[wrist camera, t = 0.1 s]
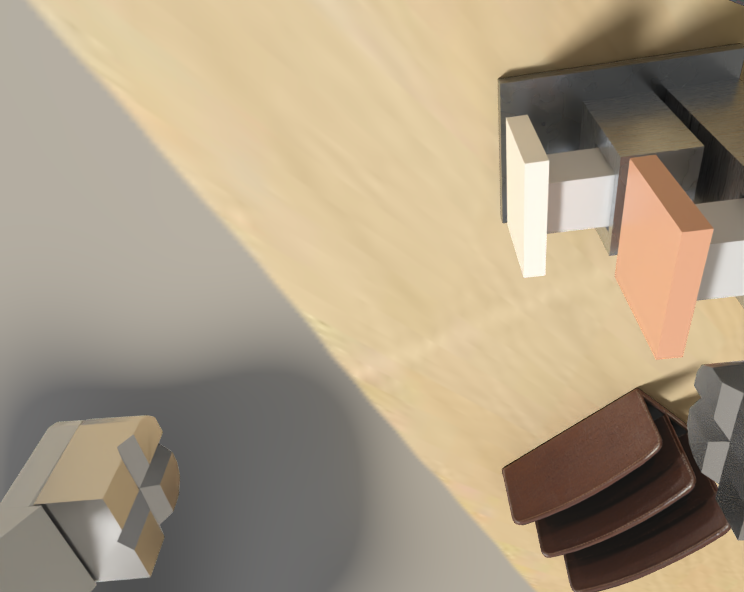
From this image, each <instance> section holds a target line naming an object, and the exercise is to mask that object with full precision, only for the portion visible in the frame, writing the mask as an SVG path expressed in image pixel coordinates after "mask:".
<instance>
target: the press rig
mask: <svg viewBox="0 0 744 592" xmlns="http://www.w3.org/2000/svg"><path fill="white" fill-rule="evenodd" d="M743 61H744V46H743V45H742V44H740V43H739V44H732V45H725V46H719V47H712V48H705V49H698V50H691V51H685V52H678V53H671V54H664V55H657V56H651V57H644V58H637V59H630V60H624V61H617V62H610V63H603V64H596V65H590V66H583V67H576V68H569V69H562V70H556V71H549V72H542V73H535V74H528V75H522V76H515V77H508V78H501V79H498V110H499V158H500V206H501V219H502V223H507V159H506V118H507V117H514V116H521V115H528V117H529V119H530V121H531V123H532V125H533V127H534V129H535V132H536V134H537V136H538V138H539V140H540V142H541V144H542V146H543V148H544V150H545V152H546V155H547V154H554V153H562V152H569V151H577V150H584V149H592V148H599V149H600V151H601V152H602V154H603V155H604V157H605V158H606V160H607V162H608V163H609V165H610V166H611V168H612V169H613V171H614V173H615V177H614V186H613V195H612V204H611V213H610V222H609V226H607V227H598V228H595V229H596V231H597V233H598V234H599V236H600V238H601V240H602V242H603V244H604V246H605V248H606V250H607V252H608V254H609V256H611V255H618V247H619V240H620V232H621V224H622V216H623V208H624V200H625V192H626V185H627V177H628V169H629V161H630V158H634V157H642V156H649V155H657V157H658V158H659V159H660V161H661V162H662V163H663V164H664V166H665V167H666V168H667V169H668V171H669V172H670V173H671V175H672V176H673V177H674V178H675V180H676V181H677V182H678V183H679V185H680V186H681V187H682V189H683V190H684V191H685V192H686V194H687V195H688V196H689V198H690V199H691V200H692V201H693V203H694V204H701V203H709V202H717V201H725V200H733V199H742V198H744V82H742V81H741V80H740V79H739V78H740V74H741V70H742V66H743ZM735 297H736V298H737V299H738V301H739V302H740V304H741V305H742V306H743V308H744V295H743V296H735Z"/></svg>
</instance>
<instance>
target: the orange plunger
mask: <svg viewBox="0 0 744 592" xmlns="http://www.w3.org/2000/svg"><path fill="white" fill-rule="evenodd" d="M615 278H616V280H617V282H618V284H619V286H620V288H621V290H622V292H623V294H624V296H625V298H626V300H627V302H628V304H629V306H630V308H631V310H632V312H633V314H634V316H635V318H636V320H637V322H638V324H639V326H640V328H641V330H642V332H643V334H644V336H645V338H646V340H647V342H648V344H649V346H650V348H651V350H652V352H653V354H654V356H655V358H656V360H658V359H668V358H678V357H683V354H684V350H685V346H686V341H687V337H688V333H689V329H690V325H691V321H692V317H693V313H694V308H695V304H696V301H697V300H706V299H715V298H724V297H734V296H743V295H744V198H742V199H733V200H725V201H717V202H709V203H701V204H694V203H693V201H692V200H691V199H690V198H689V196H688V195H687V194H686V192H685V191H684V190H683V189H682V187H681V186H680V185H679V183H678V182H677V181H676V180H675V178H674V177H673V176H672V175H671V173H670V172H669V171H668V169H667V168H666V167H665V166H664V164H663V163H662V162H661V161H660V159H659V158H658V157H657V155H649V156H642V157H634V158H630V161H629V169H628V177H627V185H626V192H625V200H624V208H623V216H622V224H621V232H620V240H619V247H618V255H617V263H616V271H615Z"/></svg>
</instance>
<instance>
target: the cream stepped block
mask: <svg viewBox="0 0 744 592" xmlns="http://www.w3.org/2000/svg"><path fill="white" fill-rule="evenodd" d="M506 159H507V225H508V228H509V231H510V235H511V238H512V241H513V244H514V248H515V251H516V254H517V257H518V261H519V264H520V267H521V270H522V274H523V277H524V278H526V277H535V276H544V275H545V267H546V239H547V234H549V233H557V232H565V231H574V230H582V229H590V228H598V227H607V226H609V222H610V213H611V204H612V195H613V186H614V177H615V173H614V171H613V169H612V168H611V166H610V165H609V163H608V162H607V160H606V158H605V157H604V155H603V154H602V152H601V151H600V149H599V148H592V149H584V150H577V151H569V152H562V153H554V154H547V155H546V152H545V150H544V148H543V146H542V144H541V142H540V140H539V138H538V136H537V134H536V132H535V129H534V127H533V125H532V123H531V121H530V119H529V117H528V115H521V116H514V117H507V118H506Z"/></svg>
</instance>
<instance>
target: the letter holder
mask: <svg viewBox="0 0 744 592" xmlns="http://www.w3.org/2000/svg"><path fill="white" fill-rule="evenodd" d="M502 474H503V477H504V482H505V486H506V491H507V496H508V501H509V505H510V510H511V515H512V519H513V521H514V523H516V524H518V525H526V524H529V523H531V522H534V521H535V524H536V529H537V533H538V538H539V543H540V548H541V552H542V554H543V555H544V556H545V557H547V558H551V557H556V556H560V555H564V560H565V564H566V569H567V573H568V578H569V582H570V586H571V588H572V590H573V591H574V592H598V591H602V590H606V589H610V588H613V587H617V586H620V585H622V584H625V583H628V582H631V581H634V580H636V579H639V578H641V577H644V576H646V575H648V574H651V573H653V572H655V571H657V570H659V569H662V568H664V567H666V566H668V565H670V564H672V563H674V562H676V561H678V560H680V559H682V558H684V557H686V556H688V555H690V554H692V553H694V552H696V551H697V550H699V549H701V548H703V547H705V546H706V545H708V544H710V543H712V542H713V541H715V540H716V539H718V538H720V537H721V536H723V535H724V534H726V533H727V532H728V531H729V530H730V529H731V527H730V525H729V523H728V521H727V519H726V518H725V516H724V514H723V512H722V510H721V508H720V507H719V505H718V503H717V501H716V499H715V498H716V494H717V490H718V487H717V485H716V483H715V481H713V480H712V479H710V478H709V477H707V476H706V475H704V474H703V473H701V471H700V469H699V467H698V465H697V463H696V461H695V459H694V457H693V454H692V451H691V448H690V445H689V438H688V430H687V425H686V424H685V423H684V422H683V421H681V420H680V419H679V418H678V417H676V416H675V415H674V414H672V413H671V412H670V411H668V410H667V409H666V408H664V407H663V406H662V405H660V404H659V403H658V402H656V401H655V400H654V399H652V398H651V397H650V396H648V395H647V394H645V393H644V392H643V391H642V390H640V389H639V388H636V389H634V390H633V391H631V392H629V393H628V394H626V395H624V396H623V397H621V398H619V399H618V400H616V401H614V402H613V403H611V404H609V405H608V406H606V407H604V408H603V409H601V410H599V411H597V412H596V413H594V414H593V415H591V416H589V417H588V418H586V419H584V420H583V421H581V422H579V423H577V424H576V425H574V426H572V427H571V428H569V429H567V430H566V431H564V432H562V433H561V434H559V435H557V436H556V437H554V438H553V439H551V440H549V441H547V442H546V443H544V444H543V445H541V446H539V447H537V448H536V449H534V450H532V451H531V452H529V453H528V454H526V455H524V456H523V457H521V458H519V459H518V460H516V461H514V462H513V463H511V464H509V465H508V466H506V467H504V468H503V469H502Z"/></svg>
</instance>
